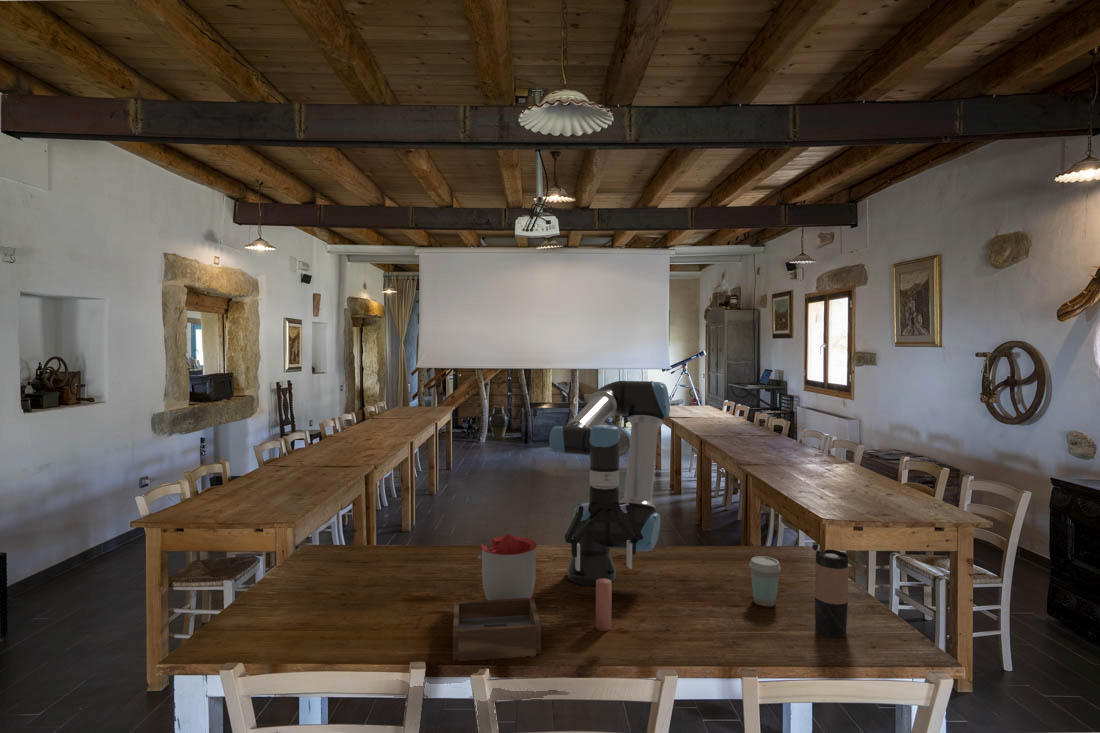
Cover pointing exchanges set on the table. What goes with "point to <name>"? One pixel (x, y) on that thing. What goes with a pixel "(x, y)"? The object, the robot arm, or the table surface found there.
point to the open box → (496, 629)
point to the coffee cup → (764, 579)
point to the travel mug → (831, 593)
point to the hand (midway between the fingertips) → (603, 568)
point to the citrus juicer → (508, 568)
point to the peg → (603, 604)
